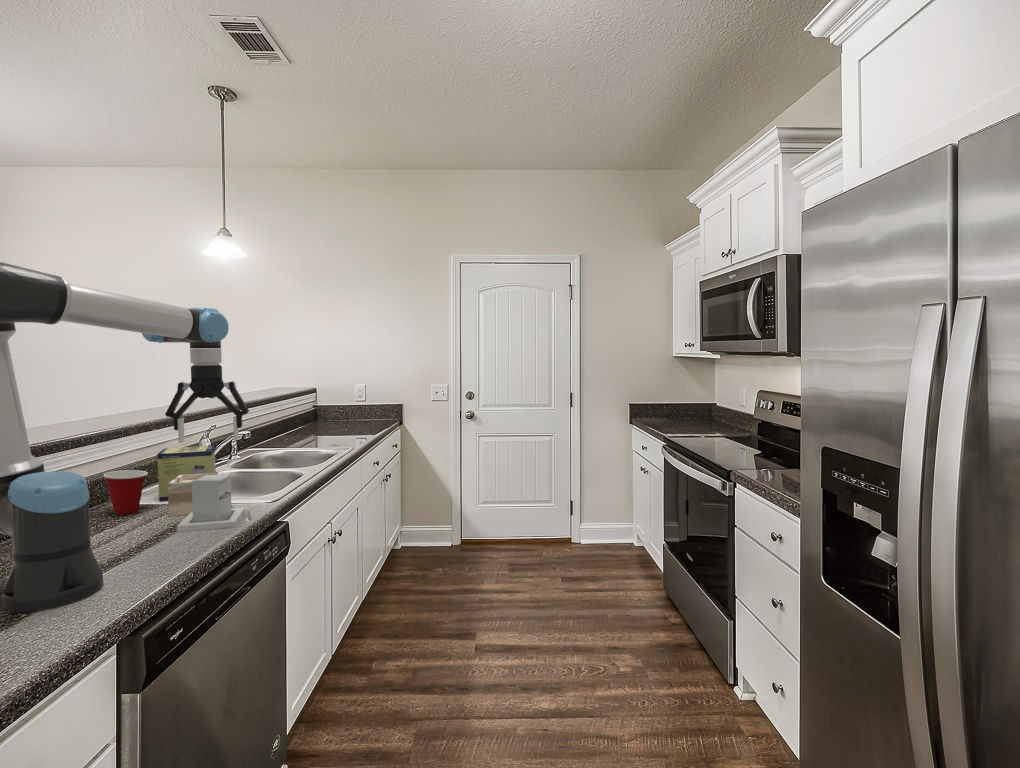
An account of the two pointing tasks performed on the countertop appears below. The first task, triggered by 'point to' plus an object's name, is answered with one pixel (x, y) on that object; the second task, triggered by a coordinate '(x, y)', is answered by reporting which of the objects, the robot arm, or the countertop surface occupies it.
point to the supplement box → (211, 498)
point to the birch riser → (182, 493)
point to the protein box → (183, 464)
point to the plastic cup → (125, 490)
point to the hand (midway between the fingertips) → (209, 440)
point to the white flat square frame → (232, 522)
